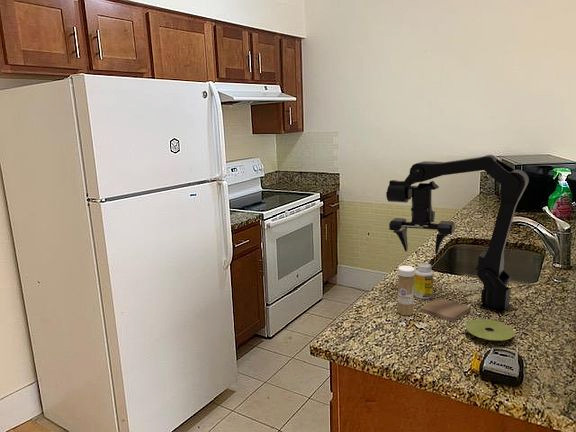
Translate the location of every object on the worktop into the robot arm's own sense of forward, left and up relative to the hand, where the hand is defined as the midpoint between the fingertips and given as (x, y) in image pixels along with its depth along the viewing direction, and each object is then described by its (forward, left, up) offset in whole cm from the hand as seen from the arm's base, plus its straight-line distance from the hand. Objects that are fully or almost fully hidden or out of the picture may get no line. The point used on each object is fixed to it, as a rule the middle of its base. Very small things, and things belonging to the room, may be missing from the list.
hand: (421, 252), depth 134 cm
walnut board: (-13, +7, -13) cm, 19 cm away
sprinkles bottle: (-5, +16, -13) cm, 22 cm away
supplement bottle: (-3, +2, -13) cm, 14 cm away
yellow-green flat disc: (-28, +13, -13) cm, 33 cm away
